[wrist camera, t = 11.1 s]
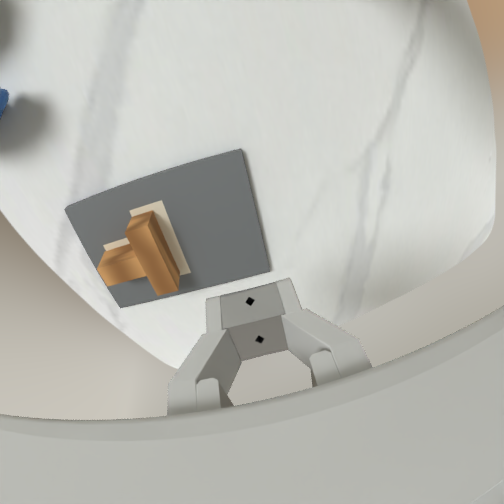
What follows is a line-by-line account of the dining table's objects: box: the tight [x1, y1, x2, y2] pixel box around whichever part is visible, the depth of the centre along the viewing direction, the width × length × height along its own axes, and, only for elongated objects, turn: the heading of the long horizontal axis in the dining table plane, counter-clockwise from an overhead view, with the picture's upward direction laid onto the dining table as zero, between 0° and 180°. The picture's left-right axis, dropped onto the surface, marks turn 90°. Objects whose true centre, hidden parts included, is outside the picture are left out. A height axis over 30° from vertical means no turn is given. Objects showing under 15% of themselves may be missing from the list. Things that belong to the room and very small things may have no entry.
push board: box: [65, 149, 270, 308], centre depth 39 cm, size 24×18×1 cm
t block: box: [97, 210, 180, 296], centre depth 37 cm, size 9×10×4 cm
